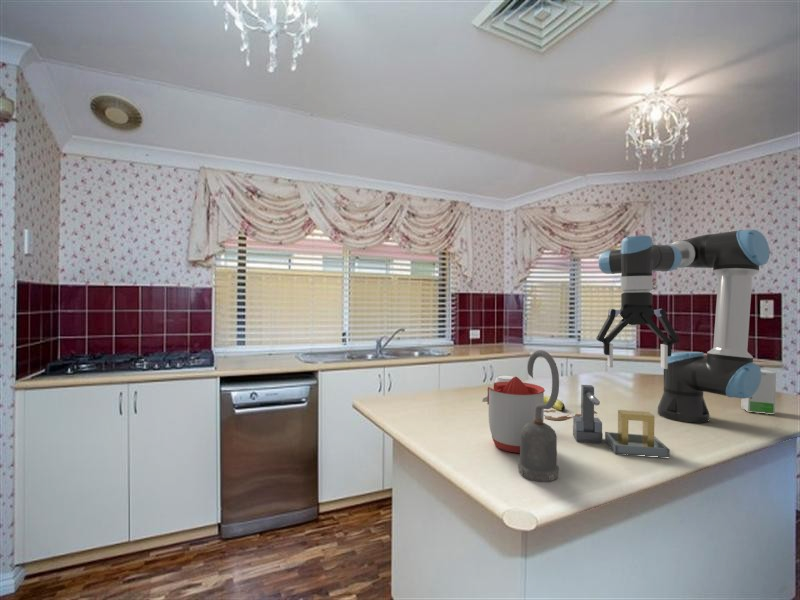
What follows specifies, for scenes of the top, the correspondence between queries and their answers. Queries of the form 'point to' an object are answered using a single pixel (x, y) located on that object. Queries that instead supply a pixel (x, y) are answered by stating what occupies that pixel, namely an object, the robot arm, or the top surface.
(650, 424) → the wooden arch block
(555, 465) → the hook
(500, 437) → the citrus juicer
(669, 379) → the robot arm
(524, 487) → the top surface
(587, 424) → the grey faucet post
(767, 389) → the skincare box
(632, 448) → the tray
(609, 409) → the top surface
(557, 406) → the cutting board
